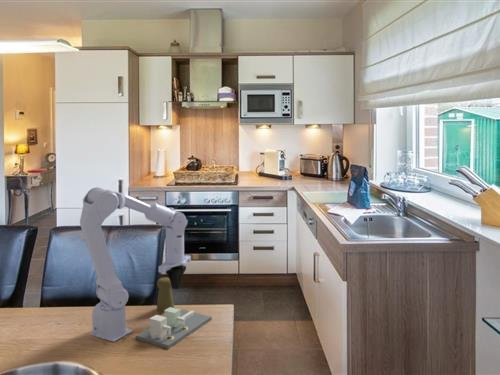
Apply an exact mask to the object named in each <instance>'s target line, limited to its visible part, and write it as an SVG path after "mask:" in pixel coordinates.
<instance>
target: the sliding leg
mask: <svg viewBox="0 0 500 375" xmlns="http://www.w3.org/2000/svg"><path fill="white" fill-rule="evenodd" d="M163 314H164V315H163V317H167V324H170V325H174V326H175V325H177V324H178V323H180V322H181V321H182V328H184V321H185V318H181V308H176V307H174V308H172V307H169V308H168V309H166V310H164V313H163Z"/></svg>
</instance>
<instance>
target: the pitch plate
mask: <svg viewBox="0 0 500 375" xmlns="http://www.w3.org/2000/svg"><path fill="white" fill-rule="evenodd" d="M180 310H181V318H185V321H184V328H182V321H181V322H180V323H178V324H177V325H175V326H174V325H170V324H167V317H164V315H163V316H162V315H160V314H159V315H158V314H155V315H154V316H151V317H150V318H149V328H147V329H145V330H144V331H142V332H140V333H138V334H136V335H135V339H136V340H139V341H140V342H141V341H142V342H145V343H148V344H152V345H155V346H159V347H161V348H165V349H168V350H169V349H171V348H173V347H174V346H175V345H176V344H178V343H180V342H181V341H182V340H184V339H185V338H187V337H188V336H190V335H191V334H193V333H194V332H196V331H197V330H199V329H200V328H202V327H203V326H204V325H206V324H208V323H209V322H211V321H212V316H210V315H206V314H201V313H198V312H195V310H190V311H189V310H185V309H181V308H180Z"/></svg>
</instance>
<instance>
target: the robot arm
mask: <svg viewBox="0 0 500 375" xmlns="http://www.w3.org/2000/svg"><path fill="white" fill-rule="evenodd" d="M124 208H127V209H131V210H133V211H136V212H139V213H142V214H144V218H145V219H146V220H148V221H150V222H153V223H156V224H158V225H161V226H164V227H165V254H166V255H165V256H166V258H165V259H166V260H165V261H163V263H162V264H160V265H159V266H158V273H160V274H165V273H166V275H167V278H169V279H170V282H171V286H172V288H171V289H173V290H174V289H175V290H178V289H180V287H181V283H182V278H183V276H184V274H185V272H186V270H187V266H186V265H187V264H188V263H190V262H192V256H191V255H187V254H185V229H186V227H187V226H188V222H189V220H188V219H187V218H186V215H185V214H184V213H183V212H180V211H177V210H175V208H173V207H171V206H170V207H167V206H166V205H165V206H164V204H163V203H162V202H160V201H156V202H154V201H152V202H149V203H146V202H143V201H142V200H139V199H137V198H135V197H133V196H130V195H128V194H125V193H123V192H118V191H113V190H110V189H103V188H102V187H99V186H98V187H97V186H96V187H93V188H91V189H89V190H88V191H87V193H86V194H85V196H84V197H83V199H82V210H81V215H80V217H79V218H80V220H79V226H80V228H81V231H82V234H83V237H84V240H85V243H86V247H87V250H88V253H89V256H90V258H91V262H92V266H93V268H94V272H95V275H96V277H97V279H96V280H95V283H96V290H95V291H96V292H95V293H96V296H97V298H98V299H99V300H100V302H98V303H97V304H96V305H95V306H94V307H93V309H92V313H91V314H92V315H91V320H92V321H91V322H92V332H90V336H93V337H96V338H100V339H103V340H106V341H109V342H112V343H113V342H116V341H118V340H120V339H121V338H123V337H125V336H127V335H128V334H130V333H132V332H133V329H131V328H128V327H127V326H126V323H127V322H126V304H128V303H127V302H129V301H128V300H129V292H128V290H127V289H125V288H124V286H123V284H122V283H123V282H122V281H121V280H120V278H119V277H118V275H117V273H116V271H115V267H114V264H113V263H114V262H113V261H112V257H111V254H110V251H109V248H108V245H107V242H106V239H105V236H104V235H105V234H104V231H103V229H102V225H103V223H104V221H105V220H107V218H109V217H110V216H111V215H112V214H113V213H114V212H116V210H117V209H118V210H122V209H124Z"/></svg>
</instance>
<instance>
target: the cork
mask: <svg viewBox="0 0 500 375" xmlns="http://www.w3.org/2000/svg"><path fill="white" fill-rule="evenodd" d="M156 282H157V283H156V286H157V288H158V294H157V304H156V312H157V313H159V314H164V310H166V309H168V308H169V307H172V308H175V304H174V297H173V291H172V289H173V288H172V286H171V282H170V279H169V277H160V278H159V279H158V280H157V281H156Z"/></svg>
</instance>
